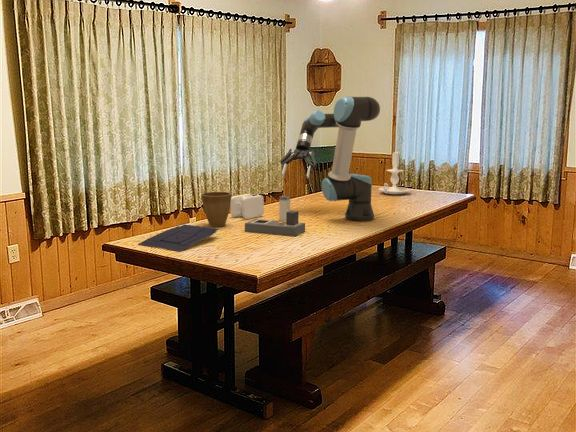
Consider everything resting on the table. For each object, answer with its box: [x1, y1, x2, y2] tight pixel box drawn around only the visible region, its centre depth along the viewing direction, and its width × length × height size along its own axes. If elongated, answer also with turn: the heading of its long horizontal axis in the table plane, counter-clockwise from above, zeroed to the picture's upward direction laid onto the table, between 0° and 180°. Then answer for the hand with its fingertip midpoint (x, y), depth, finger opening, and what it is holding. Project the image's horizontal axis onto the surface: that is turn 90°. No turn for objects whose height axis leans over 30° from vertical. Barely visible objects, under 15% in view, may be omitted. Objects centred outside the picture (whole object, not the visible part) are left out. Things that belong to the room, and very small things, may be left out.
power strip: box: [244, 210, 306, 237], centre depth 291 cm, size 26×12×10 cm, turn 67°
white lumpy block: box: [230, 193, 265, 220], centre depth 325 cm, size 15×11×12 cm
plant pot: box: [200, 191, 233, 228], centre depth 303 cm, size 15×15×16 cm
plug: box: [278, 195, 291, 221], centre depth 318 cm, size 4×5×12 cm
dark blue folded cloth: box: [137, 223, 220, 252], centre depth 271 cm, size 24×30×4 cm
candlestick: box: [378, 151, 411, 195], centre depth 398 cm, size 21×25×28 cm
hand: (295, 176), depth 325 cm, fingers open, 13 cm apart
